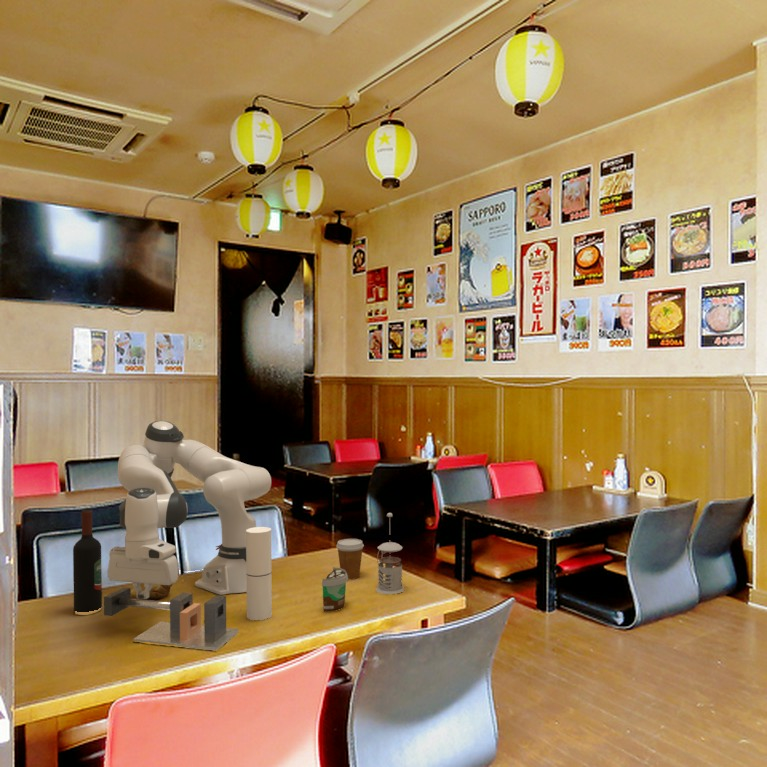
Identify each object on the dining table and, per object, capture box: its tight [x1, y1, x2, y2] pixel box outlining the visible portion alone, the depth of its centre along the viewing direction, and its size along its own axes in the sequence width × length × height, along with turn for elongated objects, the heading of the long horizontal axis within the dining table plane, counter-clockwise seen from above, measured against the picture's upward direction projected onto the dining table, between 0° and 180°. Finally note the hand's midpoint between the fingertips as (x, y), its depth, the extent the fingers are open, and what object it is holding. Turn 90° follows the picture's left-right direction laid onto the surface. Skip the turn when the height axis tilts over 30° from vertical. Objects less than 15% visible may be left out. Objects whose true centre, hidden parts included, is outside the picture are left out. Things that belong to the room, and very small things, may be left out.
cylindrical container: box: [246, 526, 273, 621], centre depth 181 cm, size 7×7×25 cm
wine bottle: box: [72, 509, 103, 612], centre depth 186 cm, size 8×8×30 cm
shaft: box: [103, 586, 170, 617], centre depth 169 cm, size 21×8×5 cm, turn 76°
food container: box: [321, 567, 349, 613], centre depth 188 cm, size 12×6×10 cm, turn 168°
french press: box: [375, 512, 405, 595], centre depth 203 cm, size 10×12×25 cm
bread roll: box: [131, 583, 174, 600], centre depth 197 cm, size 13×10×8 cm
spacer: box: [180, 602, 202, 640], centre depth 165 cm, size 2×7×7 cm, turn 166°
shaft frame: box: [132, 592, 240, 652], centre depth 166 cm, size 24×12×11 cm, turn 76°
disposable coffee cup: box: [335, 538, 365, 580], centre depth 216 cm, size 10×10×12 cm
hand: (142, 598), depth 172 cm, fingers closed
